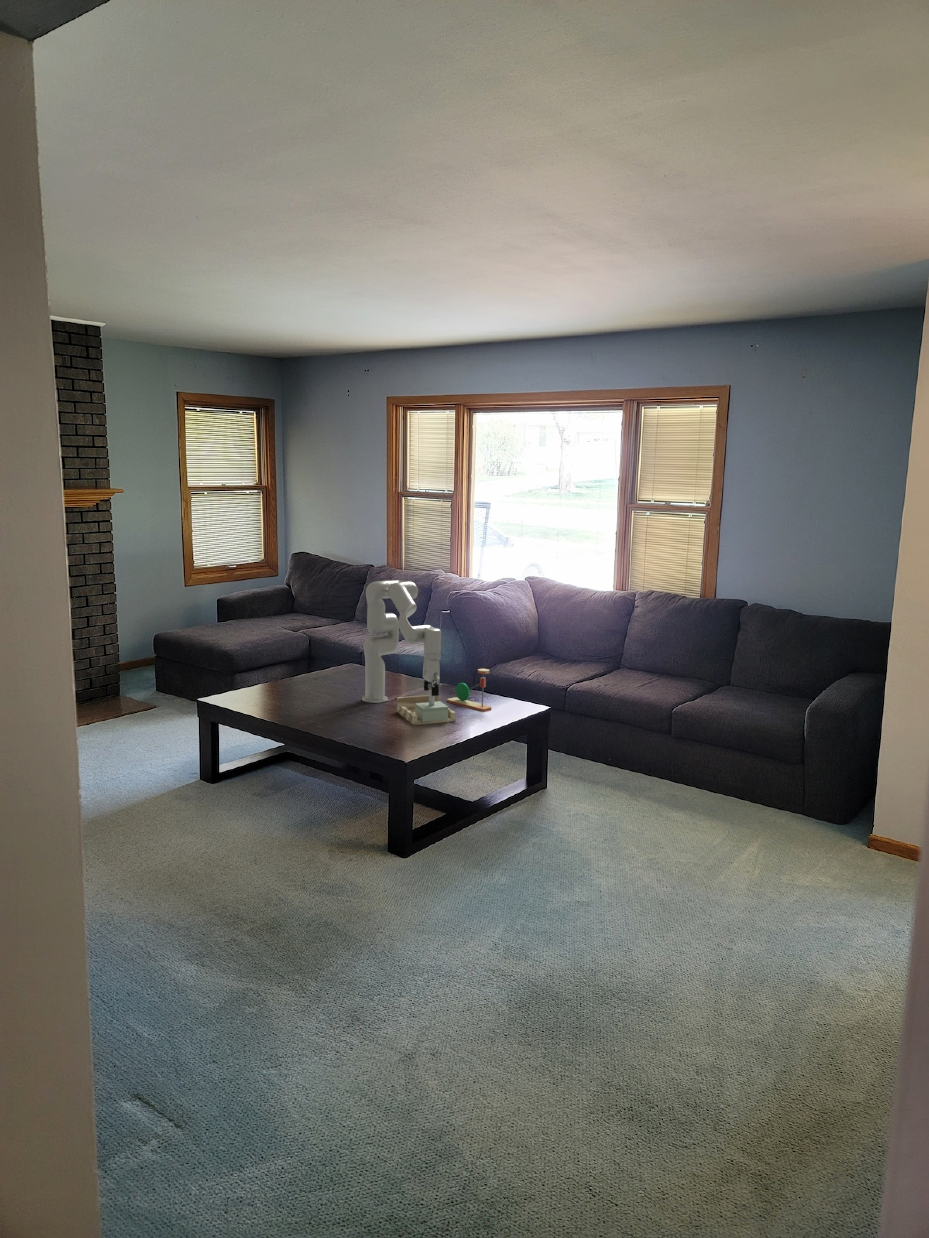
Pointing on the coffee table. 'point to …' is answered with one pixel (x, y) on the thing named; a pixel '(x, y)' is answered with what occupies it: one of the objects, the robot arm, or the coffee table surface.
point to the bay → (408, 709)
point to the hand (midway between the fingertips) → (431, 692)
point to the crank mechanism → (463, 693)
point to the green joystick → (431, 709)
